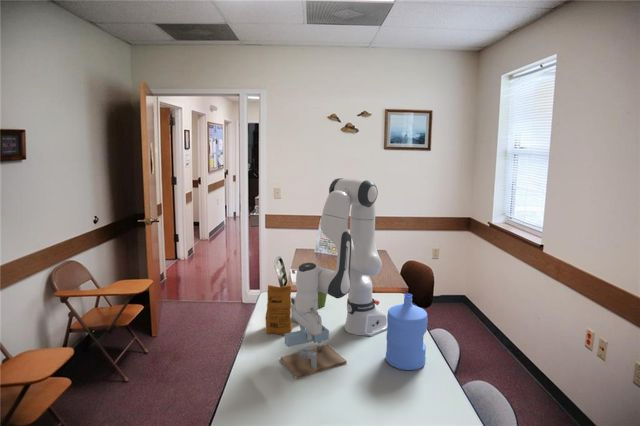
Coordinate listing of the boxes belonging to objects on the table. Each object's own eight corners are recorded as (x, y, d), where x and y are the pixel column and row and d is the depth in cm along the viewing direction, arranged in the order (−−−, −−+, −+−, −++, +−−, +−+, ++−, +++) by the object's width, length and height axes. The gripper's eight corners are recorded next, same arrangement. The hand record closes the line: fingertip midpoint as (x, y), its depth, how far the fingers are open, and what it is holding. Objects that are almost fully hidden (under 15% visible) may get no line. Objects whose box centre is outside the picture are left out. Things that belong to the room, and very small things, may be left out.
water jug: (402, 375, 163) (405, 305, 158) (378, 356, 177) (380, 291, 172) (433, 365, 170) (437, 298, 165) (408, 347, 184) (411, 285, 179)
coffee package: (267, 325, 205) (266, 281, 201) (293, 326, 204) (293, 281, 200) (263, 335, 195) (262, 288, 191) (291, 335, 194) (290, 289, 190)
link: (321, 333, 181) (321, 324, 180) (328, 339, 175) (328, 330, 175) (282, 341, 172) (283, 332, 172) (289, 348, 167) (289, 339, 166)
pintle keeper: (315, 349, 180) (315, 336, 179) (329, 352, 177) (329, 339, 176) (298, 367, 166) (298, 353, 165) (314, 371, 163) (314, 357, 162)
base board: (327, 347, 184) (327, 344, 184) (346, 363, 171) (346, 360, 171) (280, 360, 174) (280, 357, 174) (296, 378, 161) (296, 375, 161)
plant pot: (329, 309, 223) (329, 289, 220) (306, 309, 223) (306, 289, 221) (329, 301, 234) (329, 281, 232) (307, 300, 234) (307, 281, 232)
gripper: (326, 312, 164) (325, 346, 166) (302, 294, 181) (301, 325, 184) (311, 315, 161) (311, 349, 163) (288, 296, 178) (288, 328, 181)
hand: (306, 336), depth 174 cm, fingers closed on link, 3 cm apart
